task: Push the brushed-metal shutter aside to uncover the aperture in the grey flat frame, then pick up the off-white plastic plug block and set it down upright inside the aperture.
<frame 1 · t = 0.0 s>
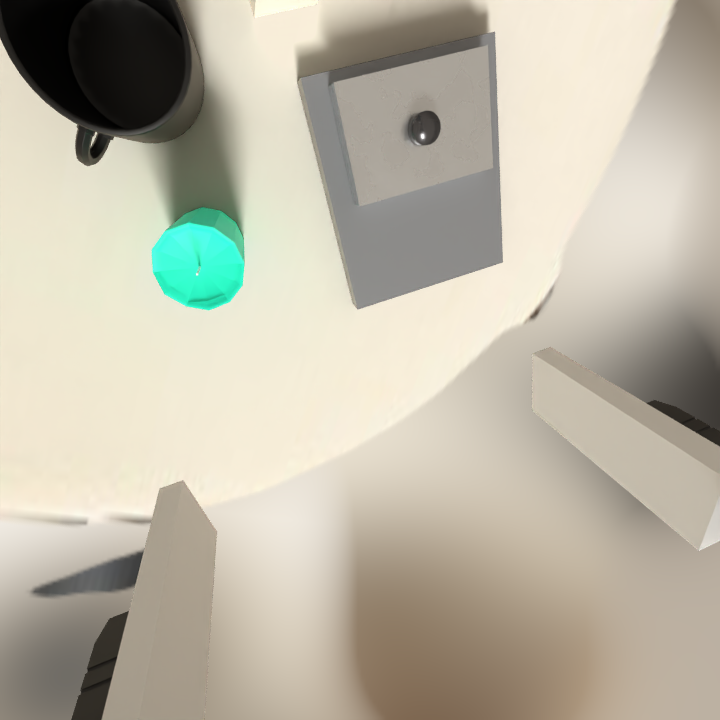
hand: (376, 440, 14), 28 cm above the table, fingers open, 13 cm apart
grey flat frame: (410, 184, 38), on the table
mug: (131, 89, 29), on the table
candle: (210, 241, 35), on the table
shutter: (419, 129, 32), point 4 cm above the table, slide at 0.0 cm
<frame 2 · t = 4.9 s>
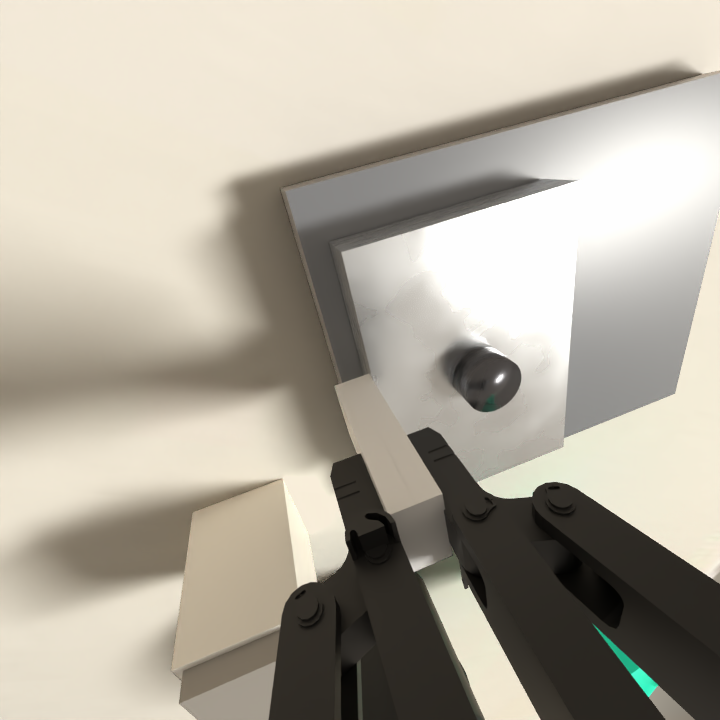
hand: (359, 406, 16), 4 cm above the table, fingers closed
grey flat frame: (513, 309, 20), on the table
plug: (254, 523, 22), on the table
mug: (377, 603, 29), on the table
candle: (515, 535, 30), on the table
shutter: (473, 368, 16), point 4 cm above the table, slide at 0.0 cm, touching gripper
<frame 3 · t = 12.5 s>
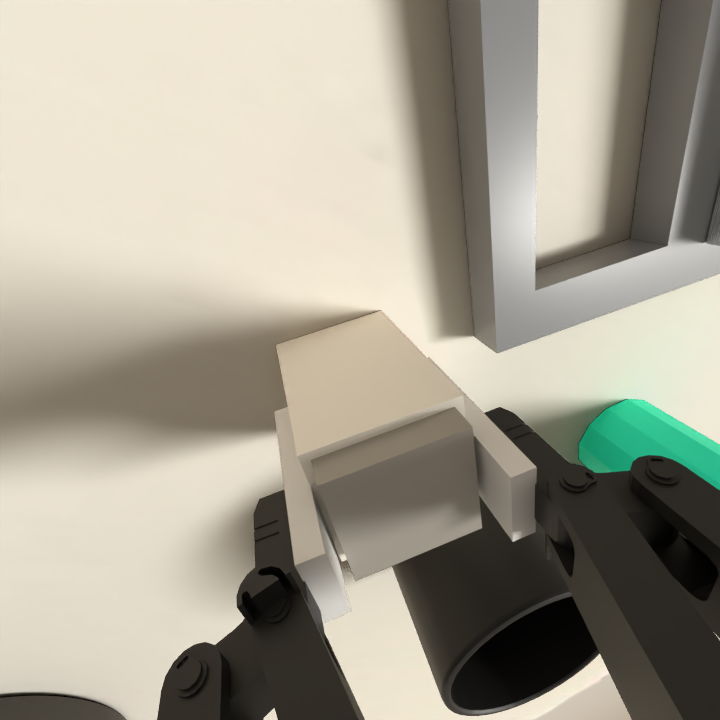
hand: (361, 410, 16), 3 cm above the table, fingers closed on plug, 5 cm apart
grey flat frame: (667, 94, 17), on the table
plug: (342, 372, 18), on the table, touching gripper
mug: (458, 505, 26), on the table
candle: (612, 433, 27), on the table
when the fingers open (4 cm above the table, at t = 18.1 s): plug drops 1 cm, resting in grey flat frame.
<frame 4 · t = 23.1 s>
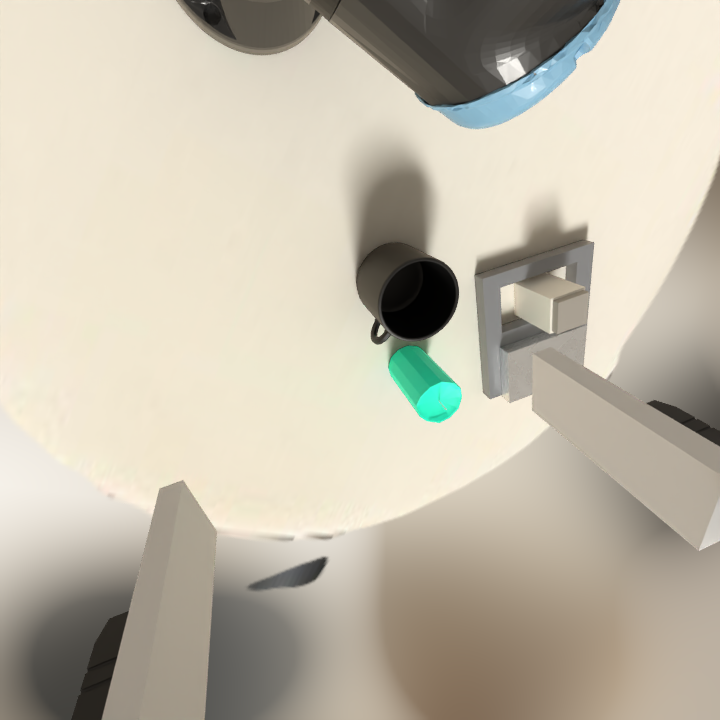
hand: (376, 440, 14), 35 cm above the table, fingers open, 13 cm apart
grey flat frame: (529, 321, 58), on the table
plug: (529, 293, 55), resting in grey flat frame
mug: (385, 288, 49), on the table
candle: (407, 363, 55), on the table
shutter: (545, 363, 57), point 4 cm above the table, slide at 10.2 cm
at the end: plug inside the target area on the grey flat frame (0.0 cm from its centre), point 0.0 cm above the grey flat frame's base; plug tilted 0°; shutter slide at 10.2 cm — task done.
